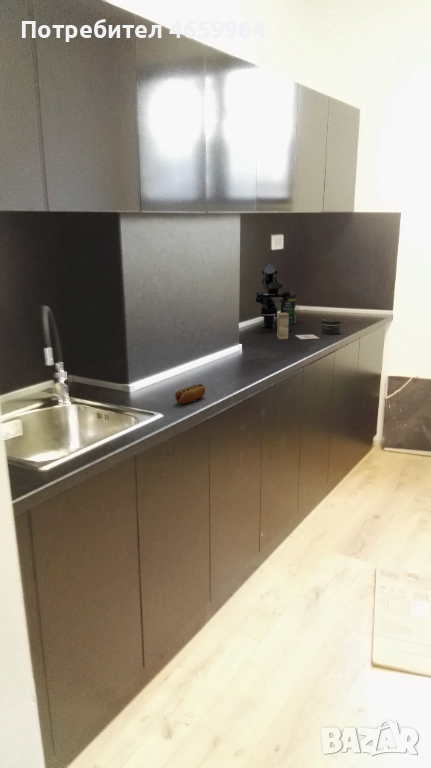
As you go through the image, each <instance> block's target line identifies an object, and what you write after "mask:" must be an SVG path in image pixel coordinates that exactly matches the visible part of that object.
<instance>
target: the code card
mask: <svg viewBox="0 0 431 768" xmlns="http://www.w3.org/2000/svg"><path fill="white" fill-rule="evenodd" d="M295 337H297V338H299V339H300V340H309V339H319V337H318V336H317V335H315V334H296V335H295Z"/></svg>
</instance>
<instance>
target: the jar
mask: <svg viewBox="0 0 431 768" xmlns="http://www.w3.org/2000/svg"><path fill="white" fill-rule="evenodd" d="M341 323H342V322H341V319H338V318H333V317H332V318H329V317H328V318H327V317H326V318H323V319H321V323H320V324H321V328H320V329H321V334H323V335H329V336H333V335H339V334H340V332H341Z"/></svg>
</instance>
